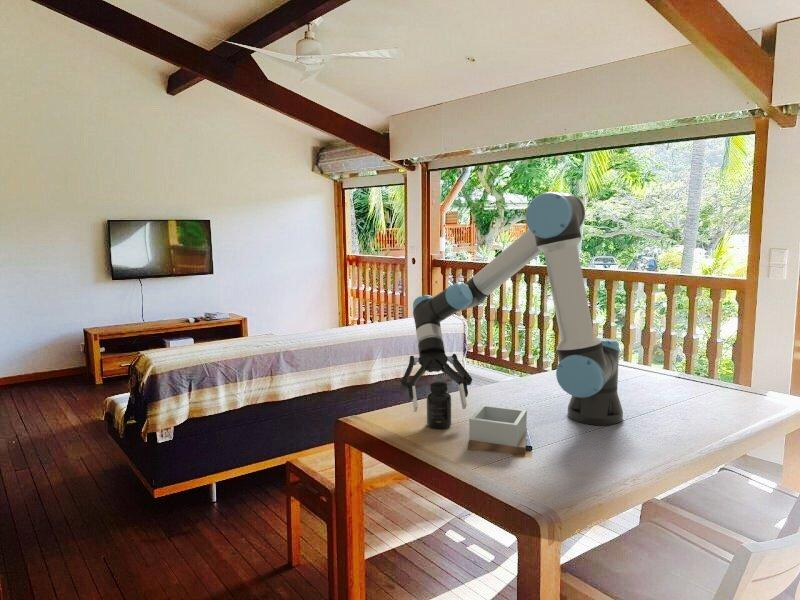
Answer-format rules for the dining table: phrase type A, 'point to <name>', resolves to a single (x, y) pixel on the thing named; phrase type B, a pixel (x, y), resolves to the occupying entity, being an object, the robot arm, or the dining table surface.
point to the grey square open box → (498, 425)
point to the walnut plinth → (499, 446)
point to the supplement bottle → (438, 406)
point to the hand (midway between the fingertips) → (440, 408)
